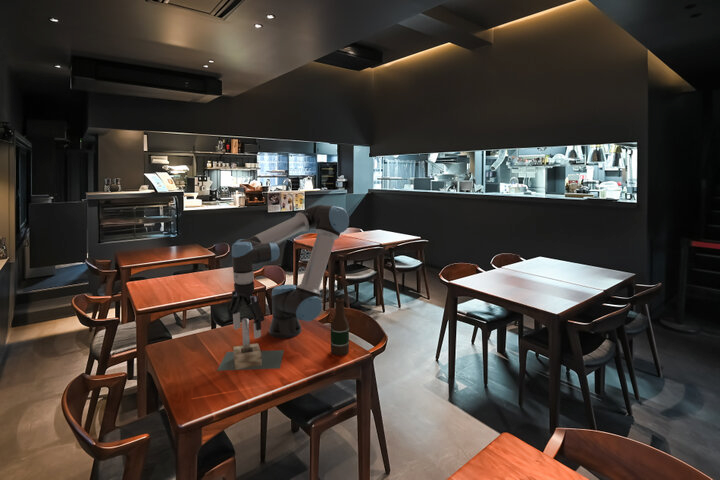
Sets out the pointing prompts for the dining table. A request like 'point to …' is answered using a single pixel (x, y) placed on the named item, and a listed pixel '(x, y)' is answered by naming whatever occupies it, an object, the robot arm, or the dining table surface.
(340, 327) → the beer bottle
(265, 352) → the felt mat
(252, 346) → the wooden square socket block
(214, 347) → the dining table surface
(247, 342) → the metal peg
